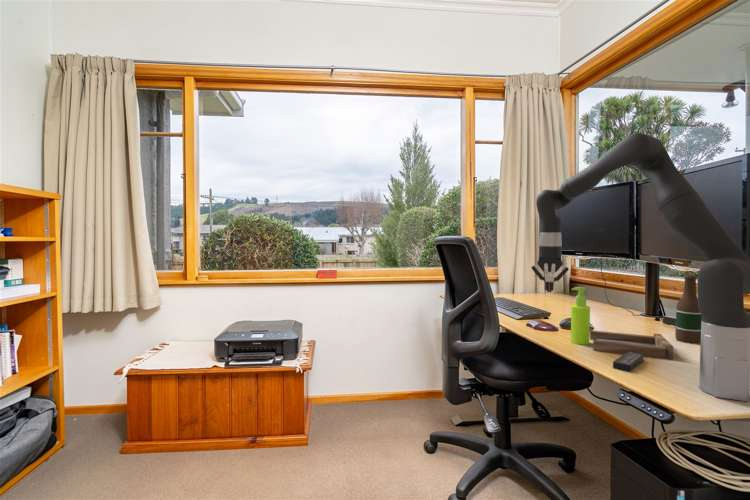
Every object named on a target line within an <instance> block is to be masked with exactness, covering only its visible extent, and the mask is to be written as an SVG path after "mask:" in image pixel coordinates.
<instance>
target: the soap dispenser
mask: <svg viewBox="0 0 750 500" xmlns="http://www.w3.org/2000/svg"><path fill="white" fill-rule="evenodd" d="M585 290H587V287H584V286H575V287H572V288H571V291H576V292H577V291H578V295H576V296H575V304H572V305H571V309H570V310H571V312H570V313H571V314H570V315H571V317H570V319H571V320H570V343H572V344H575V345H580V346H582V345H583V346H586V345H590V330H591V329H590V327H591V326H590V325H591V323H590V322H591V319H590V318H591V307H590V306H588V305H587V296H585V294H584V293H585Z"/></svg>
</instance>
